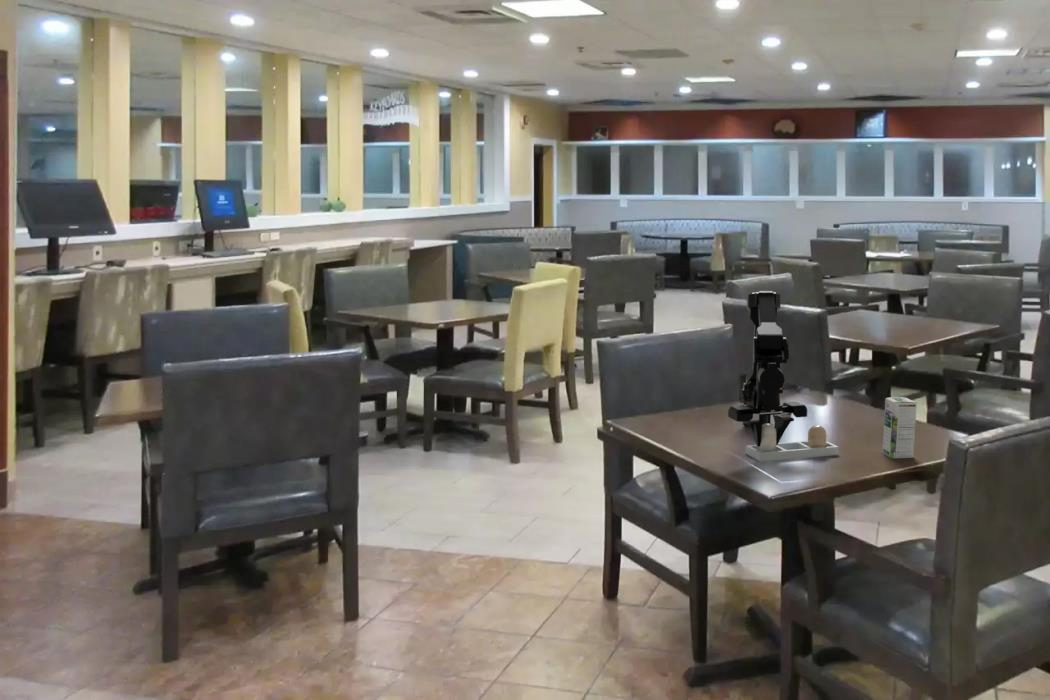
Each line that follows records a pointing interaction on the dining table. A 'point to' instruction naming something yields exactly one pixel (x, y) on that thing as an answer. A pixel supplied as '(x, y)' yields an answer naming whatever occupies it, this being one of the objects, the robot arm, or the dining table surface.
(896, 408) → the syrup box
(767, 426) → the white capsule shape
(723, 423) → the dining table surface
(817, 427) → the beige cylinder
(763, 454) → the divided compartment tray
